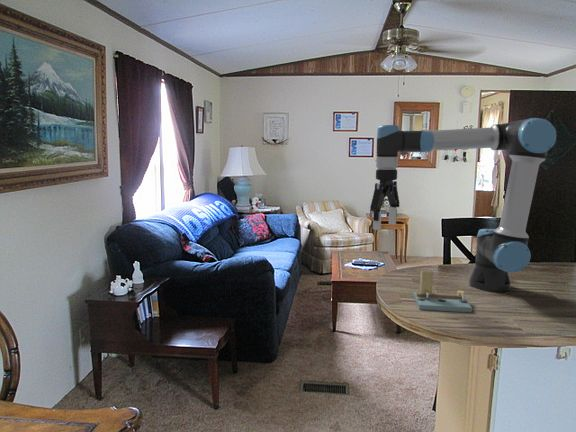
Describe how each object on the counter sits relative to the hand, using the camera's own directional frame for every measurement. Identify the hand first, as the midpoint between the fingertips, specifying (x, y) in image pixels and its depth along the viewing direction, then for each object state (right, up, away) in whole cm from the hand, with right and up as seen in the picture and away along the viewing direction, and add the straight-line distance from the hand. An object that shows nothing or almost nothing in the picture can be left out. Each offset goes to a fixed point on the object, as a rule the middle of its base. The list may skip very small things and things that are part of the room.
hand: (384, 227), depth 167 cm
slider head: (+13, -24, -6) cm, 28 cm away
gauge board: (+18, -27, -8) cm, 33 cm away
